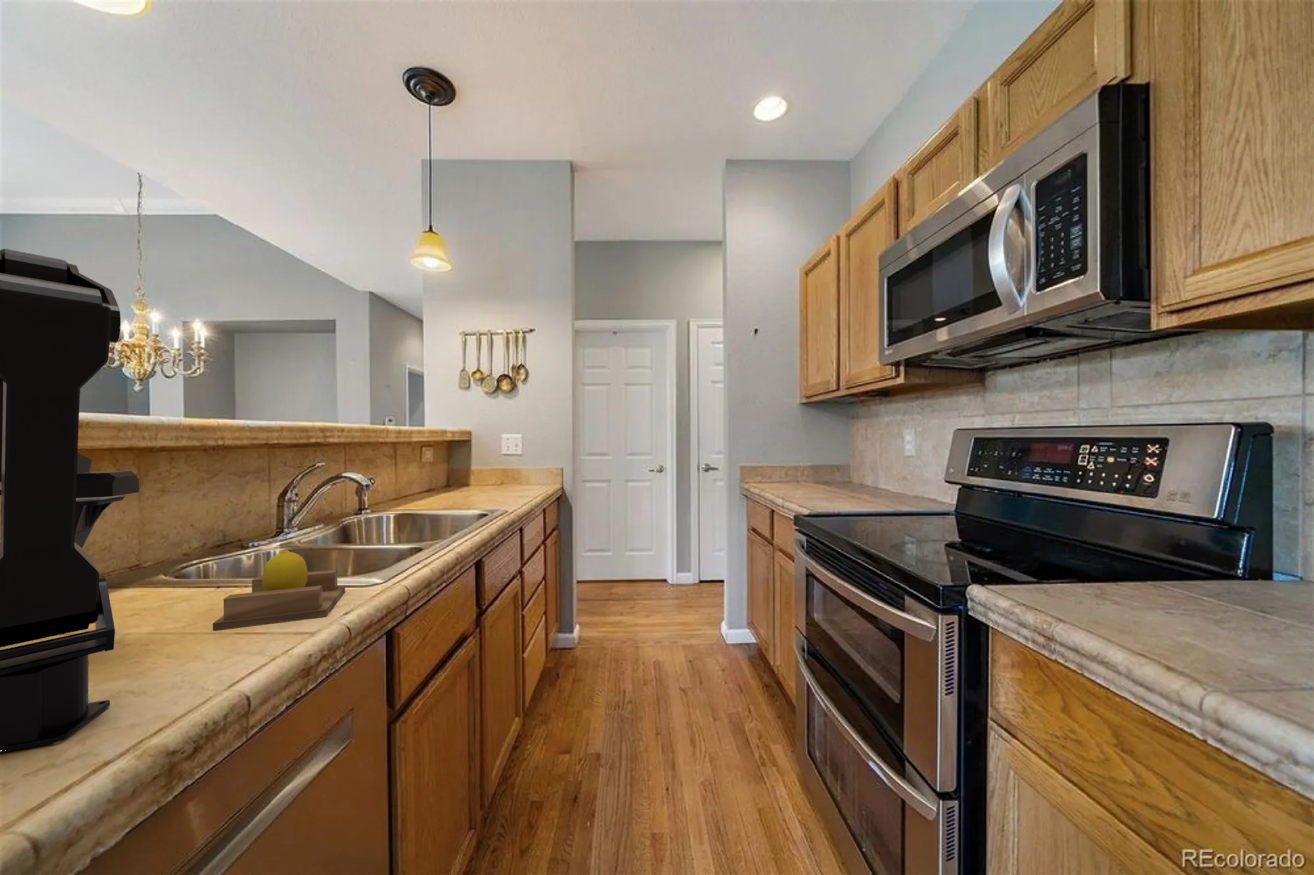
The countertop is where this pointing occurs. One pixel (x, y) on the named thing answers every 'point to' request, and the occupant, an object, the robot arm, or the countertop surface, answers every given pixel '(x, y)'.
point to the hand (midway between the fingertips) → (15, 563)
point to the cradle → (281, 602)
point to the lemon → (285, 572)
